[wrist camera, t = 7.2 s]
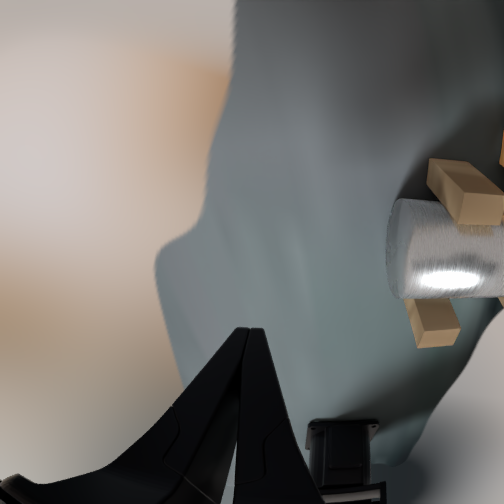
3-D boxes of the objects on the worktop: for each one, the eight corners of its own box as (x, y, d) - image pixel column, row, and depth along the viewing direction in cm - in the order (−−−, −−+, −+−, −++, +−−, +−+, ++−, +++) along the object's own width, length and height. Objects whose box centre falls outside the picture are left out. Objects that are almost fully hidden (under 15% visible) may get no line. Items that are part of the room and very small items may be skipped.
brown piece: (435, 296, 15) (453, 344, 13) (403, 298, 16) (417, 348, 13) (467, 161, 11) (507, 195, 8) (429, 158, 11) (464, 192, 9)
